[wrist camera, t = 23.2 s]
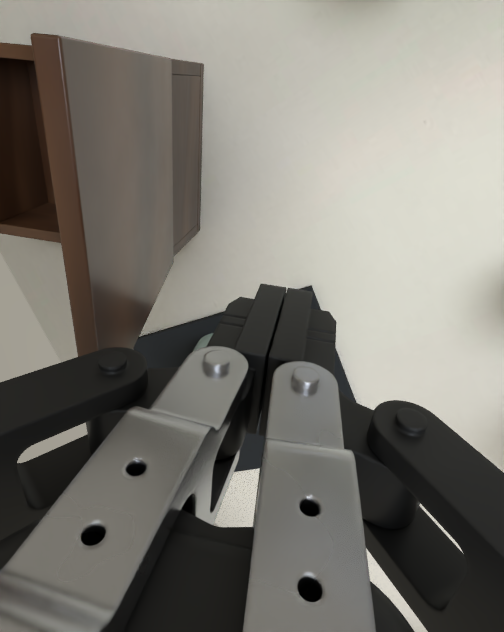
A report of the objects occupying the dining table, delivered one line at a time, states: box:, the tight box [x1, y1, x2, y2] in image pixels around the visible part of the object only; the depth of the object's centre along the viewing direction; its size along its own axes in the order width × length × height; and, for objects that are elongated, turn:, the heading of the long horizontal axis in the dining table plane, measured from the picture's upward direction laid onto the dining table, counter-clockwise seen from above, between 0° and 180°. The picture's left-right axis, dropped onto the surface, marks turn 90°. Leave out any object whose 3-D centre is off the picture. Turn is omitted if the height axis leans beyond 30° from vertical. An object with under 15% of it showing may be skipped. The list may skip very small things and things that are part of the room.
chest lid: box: [31, 33, 173, 357], centre depth 20 cm, size 15×13×1 cm
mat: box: [133, 286, 356, 472], centre depth 44 cm, size 20×20×1 cm
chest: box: [0, 43, 204, 257], centre depth 32 cm, size 15×13×7 cm
